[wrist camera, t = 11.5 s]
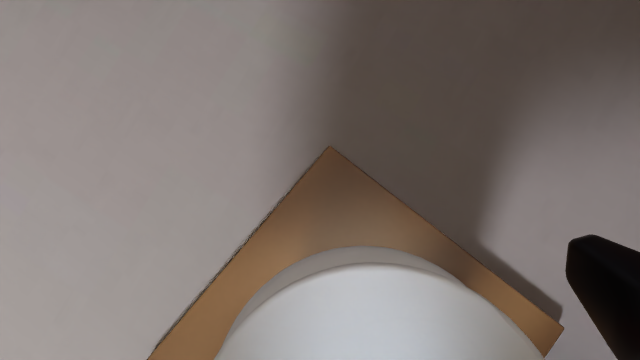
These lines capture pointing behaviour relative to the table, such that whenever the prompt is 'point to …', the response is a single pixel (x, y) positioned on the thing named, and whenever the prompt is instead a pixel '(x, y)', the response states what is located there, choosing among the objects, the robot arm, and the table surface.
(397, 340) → the pill bottle
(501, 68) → the table surface
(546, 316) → the cork mat
